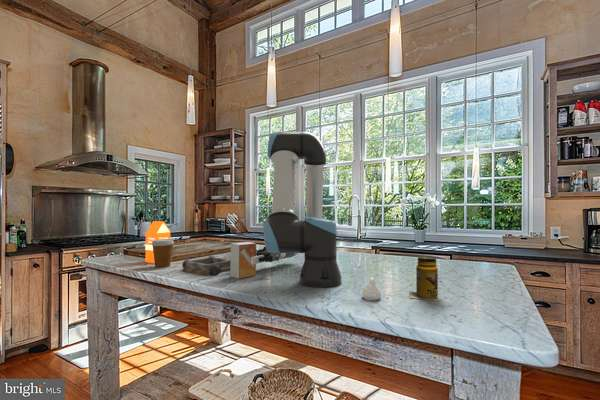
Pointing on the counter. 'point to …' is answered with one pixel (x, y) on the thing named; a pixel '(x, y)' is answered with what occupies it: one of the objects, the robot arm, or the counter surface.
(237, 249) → the small box
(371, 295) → the garlic bulb
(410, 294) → the condiment
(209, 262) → the dark square tray
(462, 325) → the counter surface
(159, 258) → the disposable coffee cup
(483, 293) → the counter surface
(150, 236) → the orange juice
